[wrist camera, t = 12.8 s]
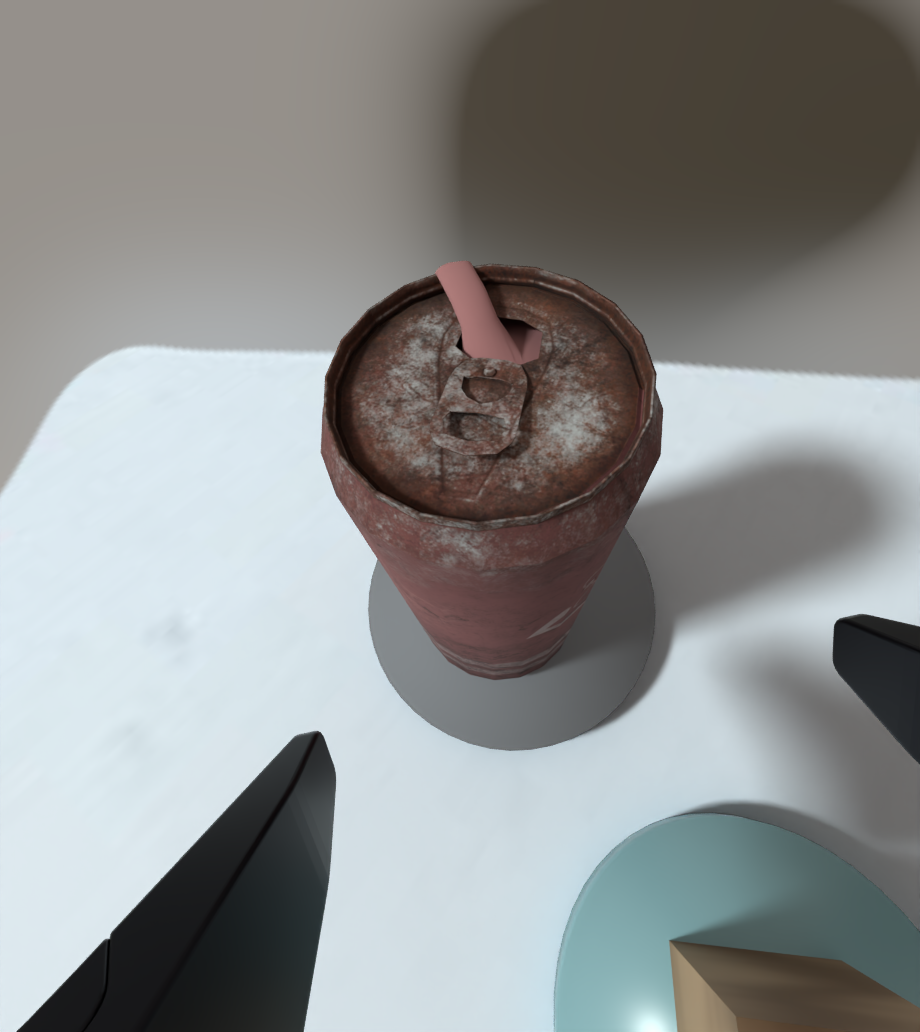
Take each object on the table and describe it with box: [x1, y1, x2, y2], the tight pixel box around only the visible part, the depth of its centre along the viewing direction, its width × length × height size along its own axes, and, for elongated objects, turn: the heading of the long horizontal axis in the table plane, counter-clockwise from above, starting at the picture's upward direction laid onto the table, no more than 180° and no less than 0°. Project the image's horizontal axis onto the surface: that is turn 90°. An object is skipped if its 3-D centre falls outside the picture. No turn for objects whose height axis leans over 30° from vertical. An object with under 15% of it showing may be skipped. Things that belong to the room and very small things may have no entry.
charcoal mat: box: [368, 527, 655, 751], centre depth 21 cm, size 12×12×1 cm
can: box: [321, 261, 663, 680], centre depth 14 cm, size 6×6×14 cm
